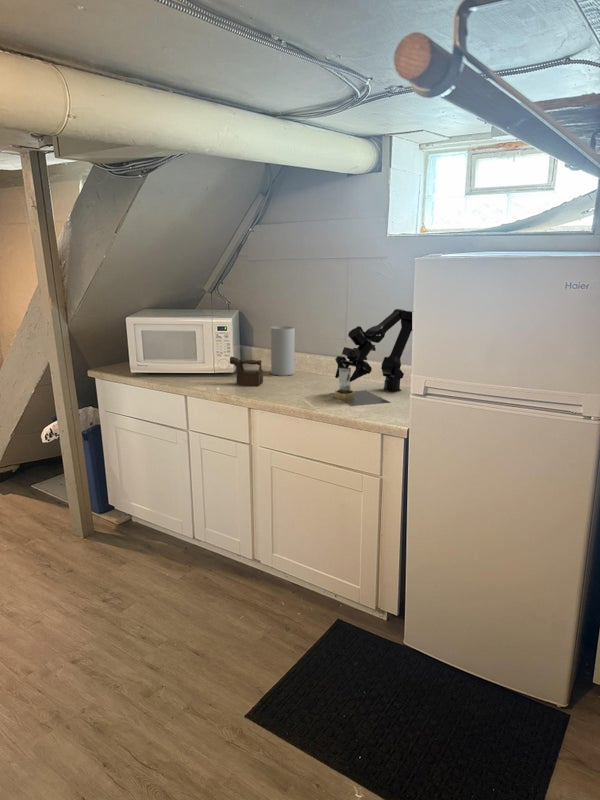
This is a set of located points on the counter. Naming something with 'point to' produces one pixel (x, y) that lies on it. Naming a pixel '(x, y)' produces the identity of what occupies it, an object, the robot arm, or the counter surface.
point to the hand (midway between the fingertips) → (342, 379)
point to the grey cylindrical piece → (344, 380)
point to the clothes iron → (247, 372)
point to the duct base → (359, 398)
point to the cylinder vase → (282, 350)
